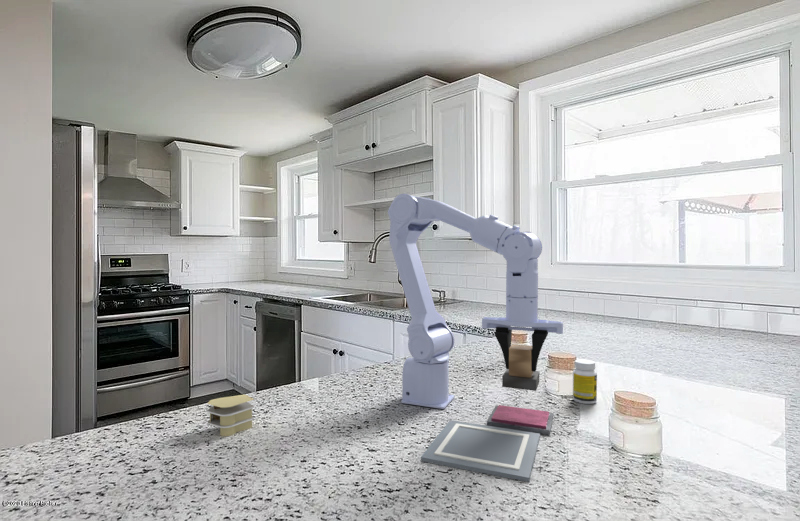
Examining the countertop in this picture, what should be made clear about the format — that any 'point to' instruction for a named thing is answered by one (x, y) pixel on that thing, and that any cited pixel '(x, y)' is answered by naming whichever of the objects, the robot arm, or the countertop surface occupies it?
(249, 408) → the yellow white layered block
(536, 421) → the ink pad
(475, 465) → the marked board
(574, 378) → the supplement bottle
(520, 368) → the stamp
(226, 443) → the countertop surface
